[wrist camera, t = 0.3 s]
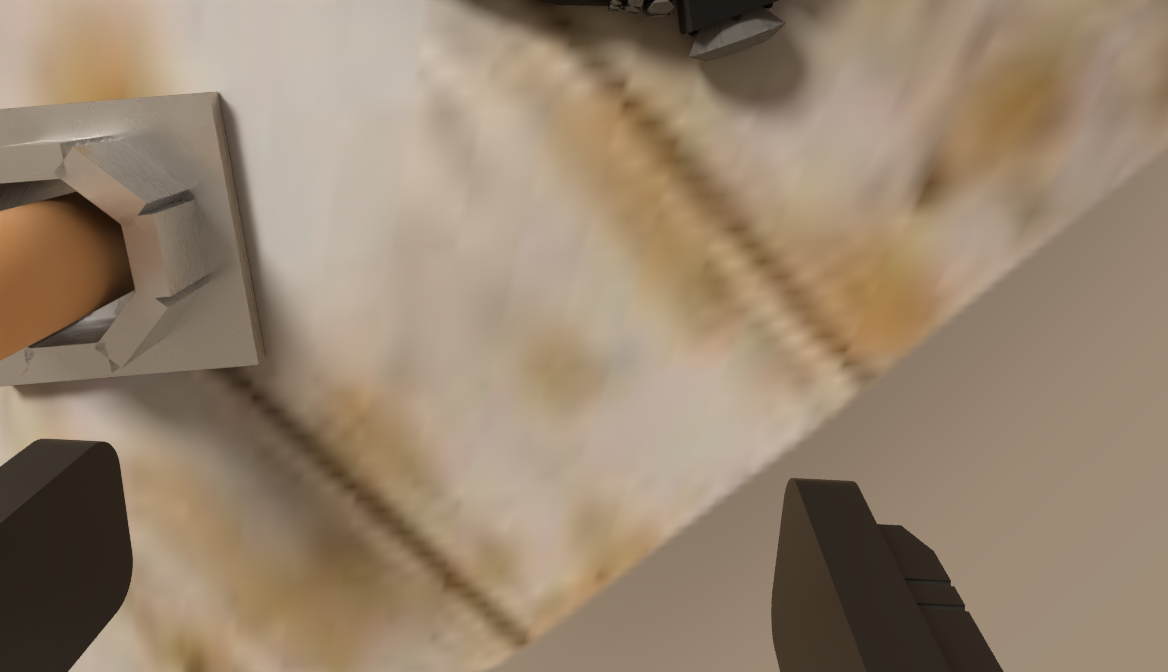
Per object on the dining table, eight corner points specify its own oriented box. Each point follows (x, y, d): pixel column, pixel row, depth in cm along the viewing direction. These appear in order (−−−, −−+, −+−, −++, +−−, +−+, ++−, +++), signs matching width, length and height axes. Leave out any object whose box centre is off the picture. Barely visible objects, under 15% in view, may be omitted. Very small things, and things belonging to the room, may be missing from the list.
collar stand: (-63, 114, 37) (-155, 121, 32) (217, 91, 37) (167, 95, 32) (6, 379, 40) (-69, 421, 35) (265, 357, 40) (226, 397, 35)
